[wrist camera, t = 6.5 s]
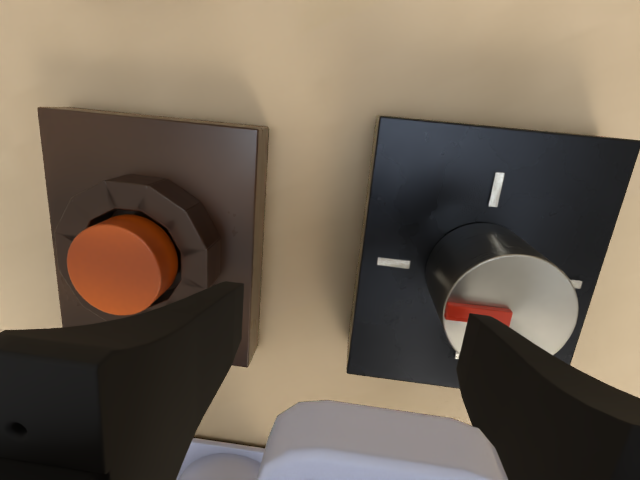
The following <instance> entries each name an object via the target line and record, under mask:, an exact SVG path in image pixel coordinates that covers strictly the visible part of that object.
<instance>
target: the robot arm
mask: <svg viewBox="0 0 640 480" xmlns="http://www.w3.org/2000/svg"><path fill="white" fill-rule="evenodd" d="M243 299H244V283H236V282H229V281H225V282H221V283H218V284H216V285H213V286H211V287H209V288H207V289H204V290H202V291H200V292H198V293H195V294H193V295H191V296H188V297H186V298H184V299H181V300H178V301H176V302H173V303H171V304H168V305H166V306H163V307H160V308H157V309H154V310H151V311H148V312H144V313H141V314H137V315H134V316H130V317H126V318H121V319H116V320H111V321H106V322H100V323H95V324H88V325H81V326H72V327H63V328H51V329H28V330H4V331H2V332H1V333H0V480H640V398H638V397H635V396H633V395H631V394H628V393H626V392H623V391H621V390H619V389H616V388H614V387H612V386H610V385H608V384H605V383H603V382H601V381H599V380H597V379H595V378H593V377H591V376H589V375H587V374H585V373H583V372H581V371H580V370H578V369H576V368H574V367H572V366H570V365H569V364H567V363H565V362H564V361H562V360H560V359H558V358H557V357H555V356H553V355H552V354H550V353H548V352H547V351H545V350H544V349H542V348H540V347H539V346H537V345H536V344H534V343H533V342H531V341H530V340H528V339H527V338H525V337H524V336H522V335H521V334H519V333H517V332H516V331H514V330H513V329H511V328H510V327H508V326H507V325H505V324H504V323H502V322H500V321H499V320H497V319H495V318H493V317H491V316H488V315H480V314H472V313H469V317H468V321H467V325H466V329H465V334H464V338H463V342H462V346H461V351H460V355H459V359H458V363H457V368H456V371H457V376H458V381H459V386H460V391H461V395H462V398H463V401H464V404H465V407H466V410H467V412H468V415H469V418H470V420H471V423H472V426H471V425H468V424H466V423H463V422H460V421H458V420H455V419H453V418H447V417H440V416H433V415H427V414H420V413H413V412H406V411H399V410H392V409H386V408H379V407H372V406H365V405H358V404H351V403H344V402H338V401H331V400H321V401H307V402H298V403H297V404H295V405H294V406H292V407H290V408H289V409H287V410H286V411H284V412H283V413H281V414H279V415H278V416H277V418H276V420H275V422H274V425H273V427H272V429H271V432H270V434H269V436H268V440H267V443H266V447H265V448H259V447H252V446H246V445H239V444H232V443H225V442H218V441H212V440H205V439H198V438H193V437H194V435H195V432H196V430H197V428H198V426H199V424H200V422H201V420H202V418H203V416H204V414H205V413H206V411H207V409H208V407H209V405H210V404H211V402H212V400H213V398H214V396H215V395H216V393H217V391H218V389H219V387H220V386H221V384H222V382H223V380H224V378H225V377H226V375H227V373H228V371H229V369H230V367H231V365H232V363H233V361H234V358H235V356H236V353H237V350H238V348H239V345H240V342H241V339H242V320H243Z"/></svg>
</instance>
